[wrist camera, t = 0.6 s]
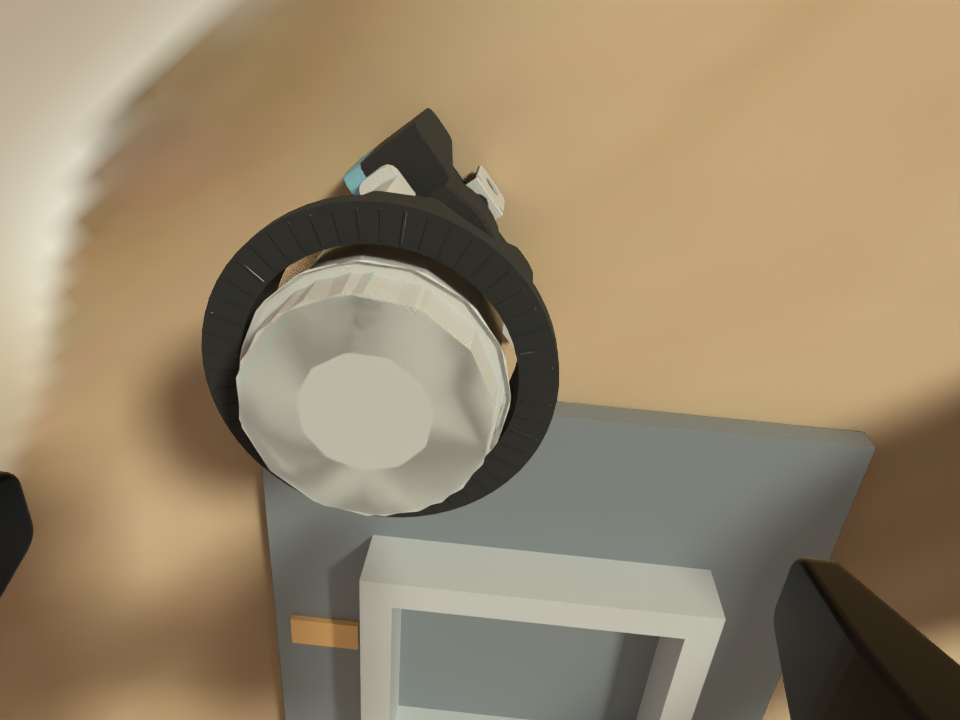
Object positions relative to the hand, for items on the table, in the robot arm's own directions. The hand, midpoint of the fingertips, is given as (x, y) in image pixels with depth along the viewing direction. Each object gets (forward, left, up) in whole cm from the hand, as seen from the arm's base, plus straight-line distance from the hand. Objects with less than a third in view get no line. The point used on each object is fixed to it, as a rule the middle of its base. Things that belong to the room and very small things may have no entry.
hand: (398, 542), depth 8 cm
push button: (0, 0, -12) cm, 12 cm away
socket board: (-3, +15, -12) cm, 19 cm away
